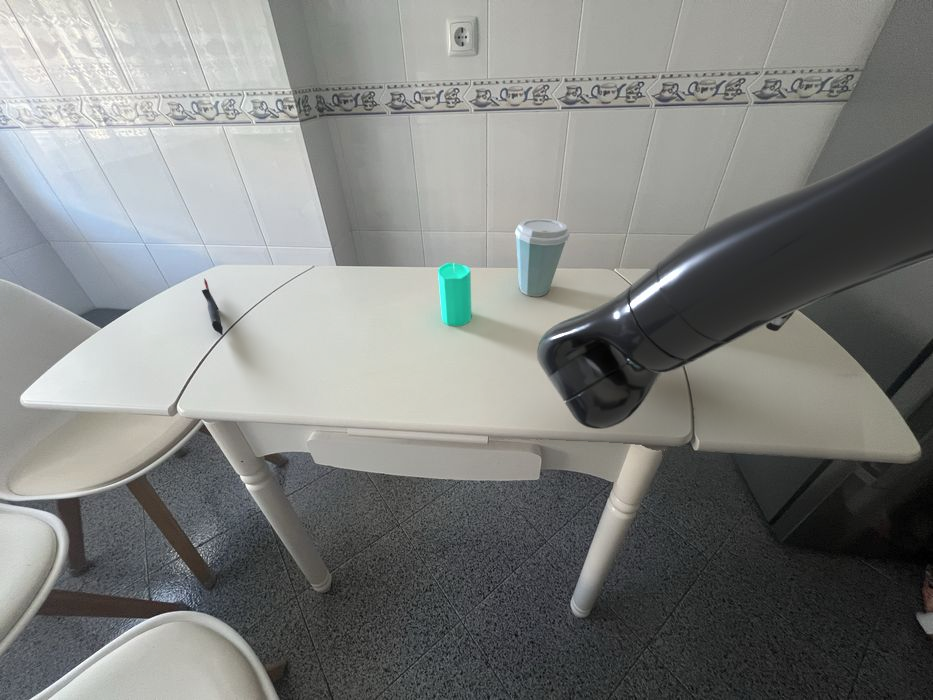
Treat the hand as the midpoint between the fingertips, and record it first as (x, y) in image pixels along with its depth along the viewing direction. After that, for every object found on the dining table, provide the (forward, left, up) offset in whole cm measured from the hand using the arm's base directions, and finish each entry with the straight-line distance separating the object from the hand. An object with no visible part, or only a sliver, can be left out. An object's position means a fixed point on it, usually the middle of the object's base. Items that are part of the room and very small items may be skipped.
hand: (759, 272), depth 48 cm
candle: (+40, -20, -18) cm, 48 cm away
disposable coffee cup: (+22, -29, -18) cm, 40 cm away
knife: (+91, -28, -18) cm, 97 cm away
